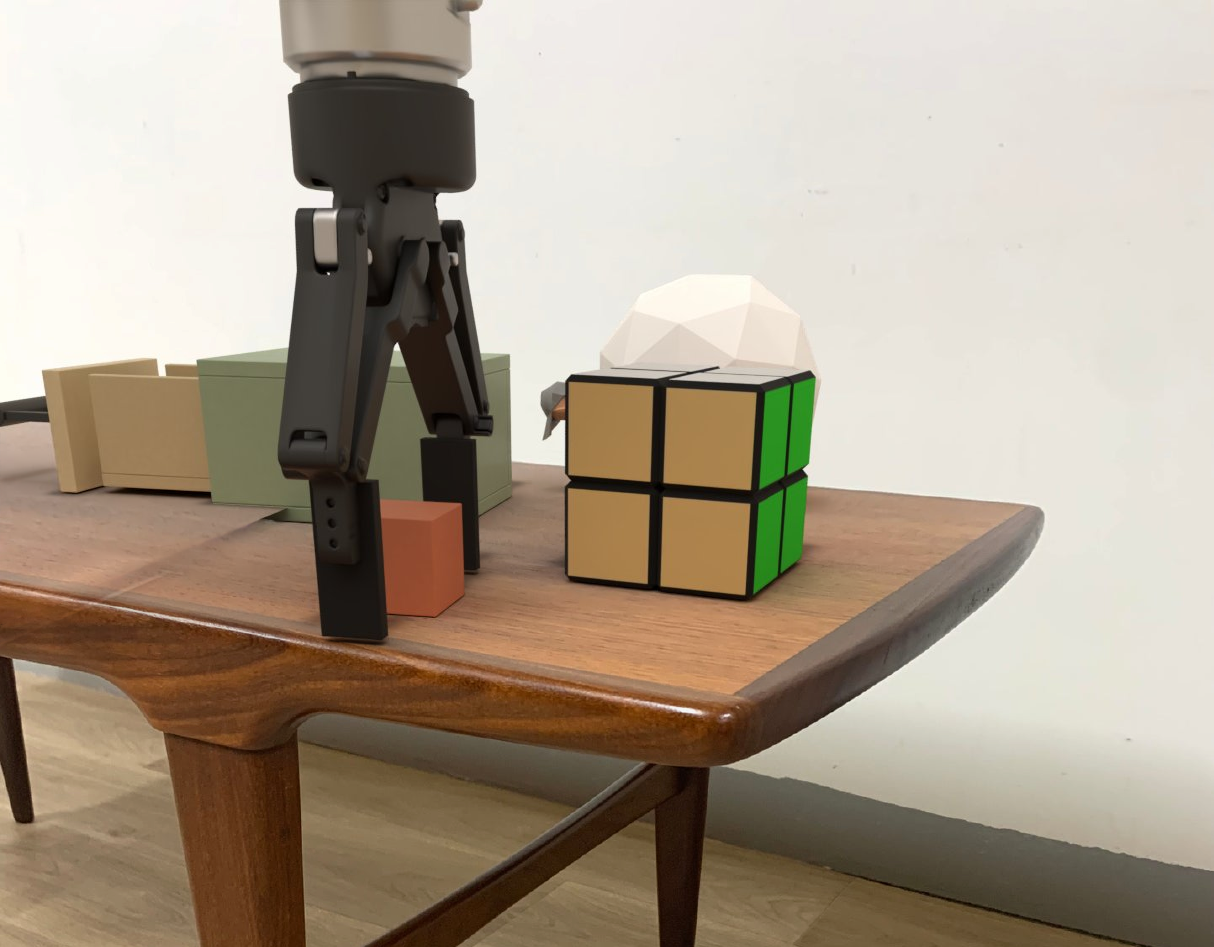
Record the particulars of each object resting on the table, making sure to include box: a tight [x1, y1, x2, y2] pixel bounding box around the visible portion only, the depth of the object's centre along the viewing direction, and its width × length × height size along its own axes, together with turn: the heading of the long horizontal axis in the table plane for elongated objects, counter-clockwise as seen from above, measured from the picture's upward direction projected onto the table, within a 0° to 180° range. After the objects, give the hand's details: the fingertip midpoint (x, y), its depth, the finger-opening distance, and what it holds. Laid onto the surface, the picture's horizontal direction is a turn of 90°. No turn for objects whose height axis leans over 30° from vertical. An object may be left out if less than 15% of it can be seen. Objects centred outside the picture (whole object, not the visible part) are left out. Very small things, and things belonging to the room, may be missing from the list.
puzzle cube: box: [564, 362, 816, 601], centre depth 64 cm, size 10×10×10 cm
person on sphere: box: [539, 273, 822, 441], centre depth 84 cm, size 14×15×20 cm
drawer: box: [0, 357, 211, 494], centre depth 83 cm, size 21×12×7 cm, turn 78°
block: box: [380, 499, 466, 618], centre depth 58 cm, size 4×4×4 cm
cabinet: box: [195, 346, 513, 524], centre depth 80 cm, size 16×13×9 cm
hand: (409, 599), depth 59 cm, fingers open, 13 cm apart
